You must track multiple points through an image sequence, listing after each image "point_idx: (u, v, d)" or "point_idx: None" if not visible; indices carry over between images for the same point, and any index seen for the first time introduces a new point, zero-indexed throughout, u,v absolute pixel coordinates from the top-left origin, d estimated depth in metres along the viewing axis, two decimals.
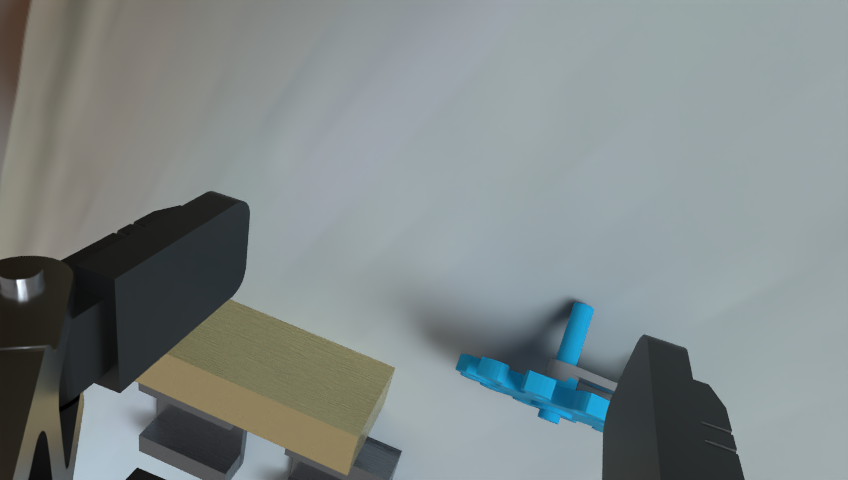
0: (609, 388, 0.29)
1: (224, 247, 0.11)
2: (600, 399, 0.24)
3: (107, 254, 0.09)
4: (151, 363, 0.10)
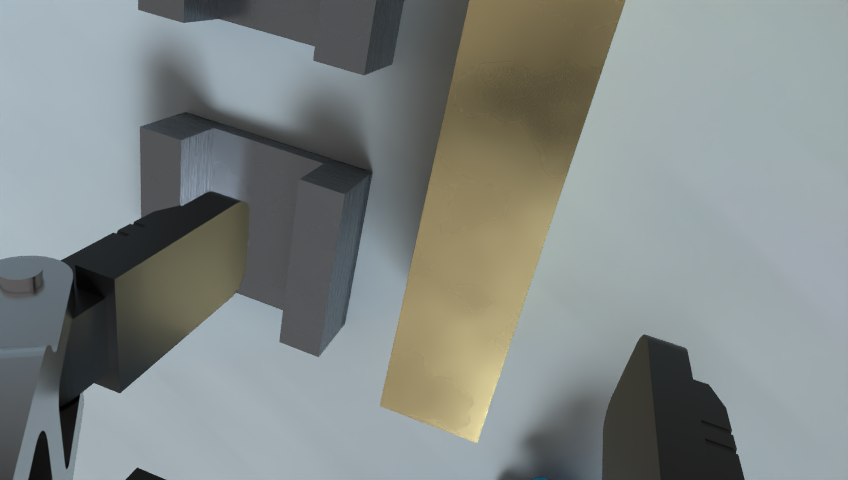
0: None
1: (225, 247, 0.11)
2: None
3: (107, 254, 0.09)
4: (151, 363, 0.10)
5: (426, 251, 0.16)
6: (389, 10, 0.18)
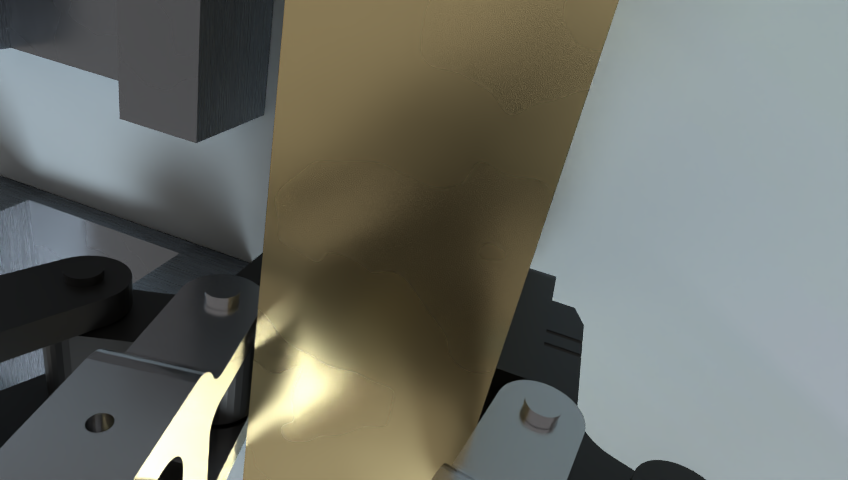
0: None
1: None
2: None
3: None
4: None
5: (264, 463, 0.09)
6: (239, 39, 0.12)
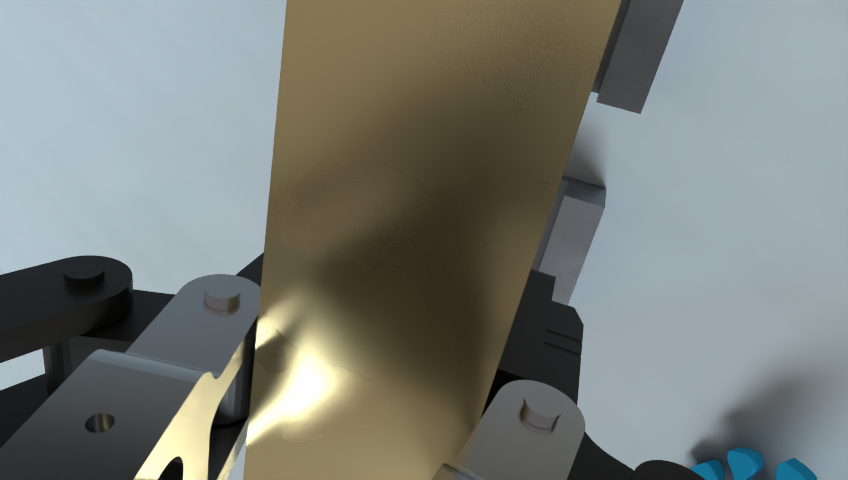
0: None
1: None
2: None
3: None
4: None
5: (265, 463, 0.09)
6: None
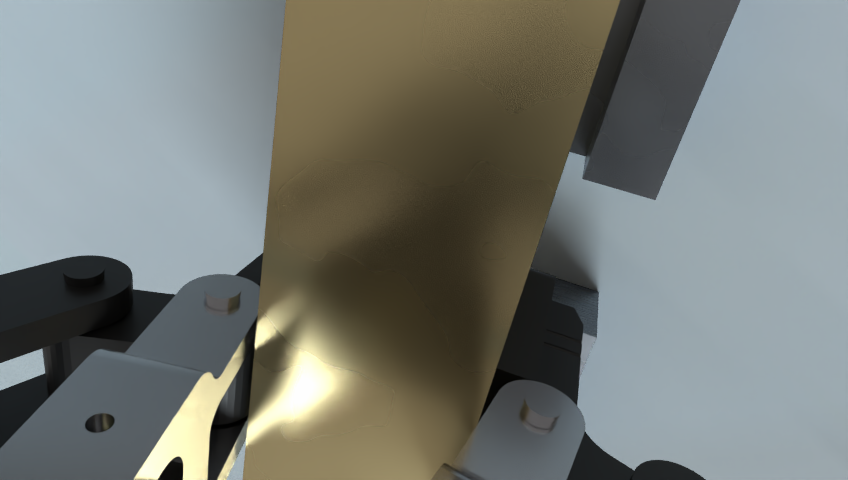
0: None
1: None
2: None
3: None
4: None
5: (264, 463, 0.09)
6: None
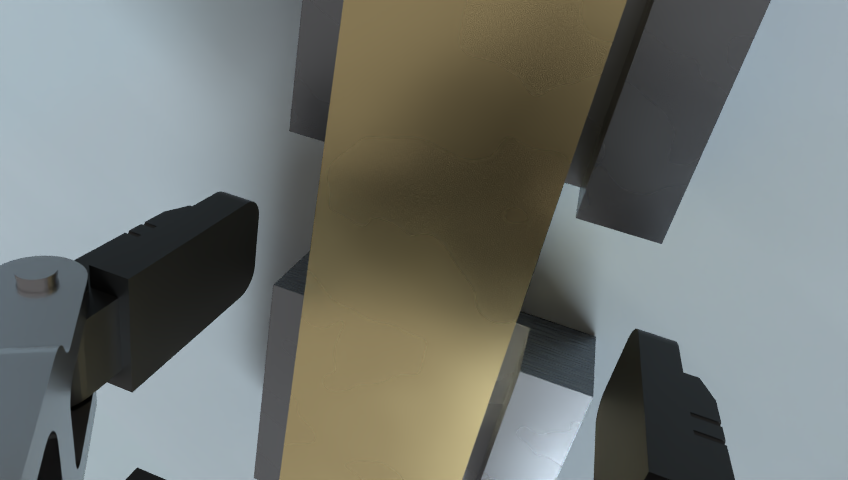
0: None
1: (235, 247, 0.11)
2: None
3: (120, 254, 0.09)
4: (162, 362, 0.10)
5: (307, 412, 0.10)
6: None
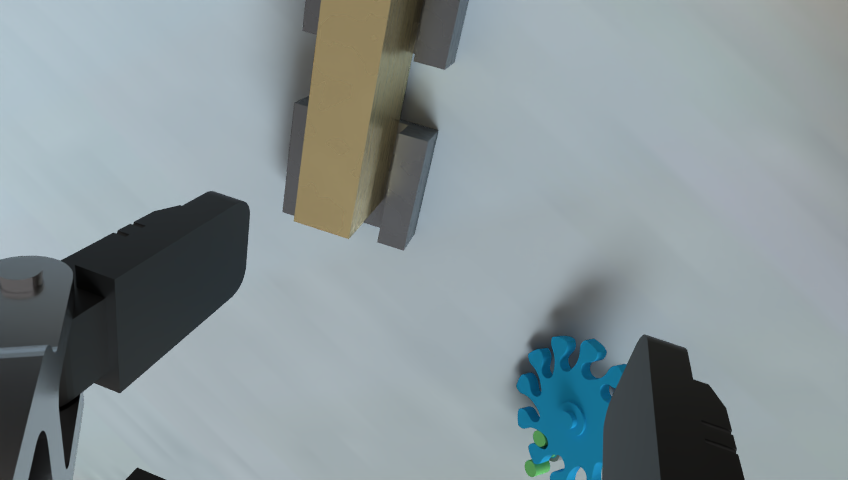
0: None
1: (224, 247, 0.11)
2: None
3: (107, 254, 0.09)
4: (151, 363, 0.10)
5: (312, 121, 0.29)
6: (457, 31, 0.31)
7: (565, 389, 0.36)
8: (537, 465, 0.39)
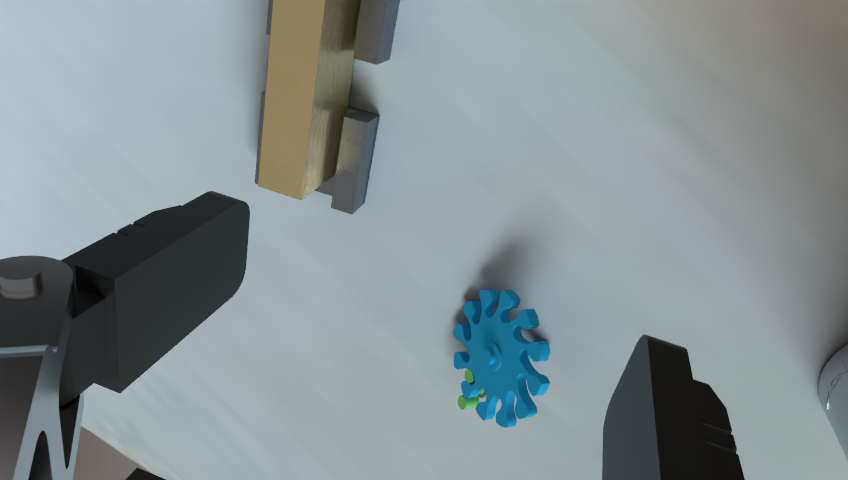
0: None
1: (224, 247, 0.11)
2: None
3: (107, 254, 0.09)
4: (151, 363, 0.10)
5: (269, 104, 0.37)
6: (388, 34, 0.39)
7: (488, 332, 0.44)
8: (467, 399, 0.46)
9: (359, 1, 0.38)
